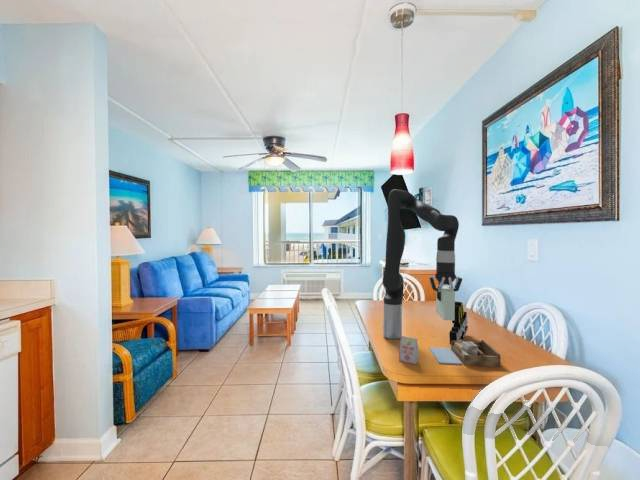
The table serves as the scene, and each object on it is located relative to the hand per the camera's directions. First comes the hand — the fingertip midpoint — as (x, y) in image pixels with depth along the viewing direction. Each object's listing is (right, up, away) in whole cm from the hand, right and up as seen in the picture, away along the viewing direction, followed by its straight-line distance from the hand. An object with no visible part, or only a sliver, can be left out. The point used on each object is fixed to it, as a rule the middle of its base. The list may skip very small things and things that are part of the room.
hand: (445, 300), depth 142 cm
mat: (0, -24, 0) cm, 24 cm away
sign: (+16, -24, +24) cm, 37 cm away
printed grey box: (-17, -24, -6) cm, 31 cm away
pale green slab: (0, -7, 0) cm, 7 cm away
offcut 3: (+8, -25, -5) cm, 26 cm away
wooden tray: (+12, -24, -1) cm, 27 cm away
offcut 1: (+9, -24, +4) cm, 26 cm away
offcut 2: (+8, -21, -5) cm, 23 cm away
